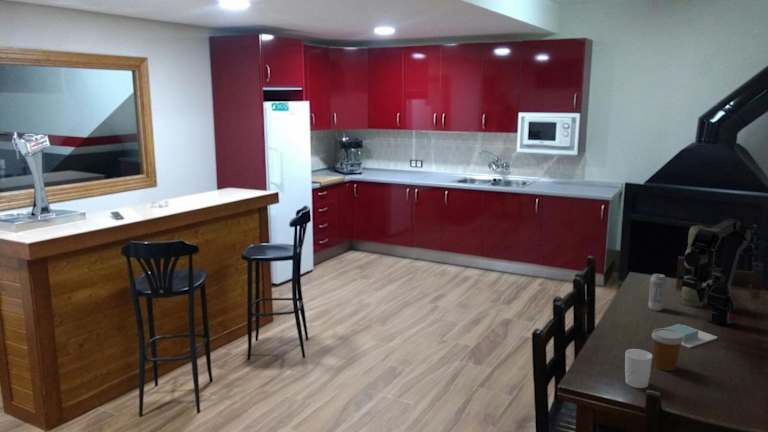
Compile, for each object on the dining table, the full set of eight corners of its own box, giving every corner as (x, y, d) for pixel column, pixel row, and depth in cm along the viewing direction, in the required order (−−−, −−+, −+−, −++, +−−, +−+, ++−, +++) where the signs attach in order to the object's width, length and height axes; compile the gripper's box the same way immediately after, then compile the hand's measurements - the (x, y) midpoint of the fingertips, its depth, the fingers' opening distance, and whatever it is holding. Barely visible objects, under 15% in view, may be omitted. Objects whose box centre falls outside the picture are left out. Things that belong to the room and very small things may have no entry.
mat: (682, 326, 228) (683, 324, 228) (717, 338, 216) (717, 336, 216) (655, 334, 220) (655, 333, 220) (689, 348, 208) (689, 346, 208)
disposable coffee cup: (644, 360, 199) (647, 327, 197) (672, 360, 199) (675, 327, 196) (656, 373, 190) (659, 339, 187) (685, 373, 189) (689, 339, 187)
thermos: (702, 301, 256) (710, 224, 250) (704, 309, 246) (712, 229, 239) (680, 298, 260) (687, 222, 254) (680, 306, 250) (688, 228, 243)
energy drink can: (666, 309, 247) (669, 275, 244) (658, 312, 244) (661, 278, 241) (653, 305, 252) (655, 272, 249) (645, 308, 248) (647, 275, 246)
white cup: (618, 378, 187) (620, 349, 185) (641, 376, 187) (644, 348, 185) (630, 390, 179) (633, 360, 177) (655, 388, 180) (657, 358, 178)
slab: (678, 323, 222) (663, 328, 217) (698, 330, 215) (683, 335, 211) (678, 331, 222) (663, 335, 218) (697, 338, 215) (682, 343, 211)
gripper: (699, 254, 228) (696, 291, 231) (669, 261, 219) (666, 300, 222) (728, 260, 218) (723, 300, 221) (697, 268, 209) (693, 308, 212)
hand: (701, 301), depth 219 cm, fingers closed
